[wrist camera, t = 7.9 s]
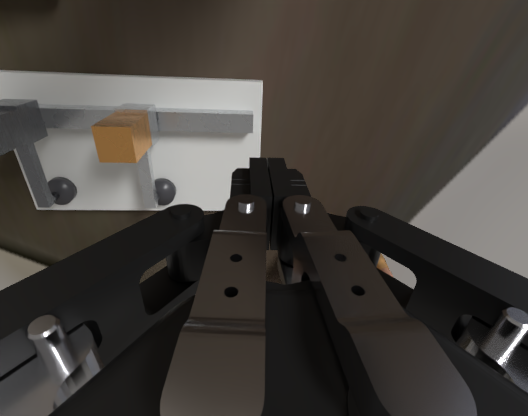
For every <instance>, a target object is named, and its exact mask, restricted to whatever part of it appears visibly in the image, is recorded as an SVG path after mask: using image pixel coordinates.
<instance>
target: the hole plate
mask: <svg viewBox="0 0 528 416" xmlns="http://www.w3.org/2000/svg"><path fill="white" fill-rule="evenodd" d="M262 91H263V81H262V80H243V79H218V78H192V77H167V76H141V75H115V74H90V73H64V72H39V71H13V70H0V100H2V99H28V100H37V102H38V104H59V105H91V106H120V105H122V104H124V103H134V104H155V108H187V109H220V110H252V111H253V133H223V132H183V131H158V132H159V140H158V142H157V143H156V144H155V145H154V146H153V147H150V154H151V161H152V167H153V174H154V180H155V187H156V193H158V194H159V195H160V198H159V200H158V205H157V207H156V208H145V205H144V199H143V193H142V188H141V182H140V177H139V171H138V165H137V163H102V162H99V158H98V154H97V150H96V146H95V142H94V138H93V133H92V129H64V128H46V130H47V133H48V136H47V137H45V138H43V139H41V140H39V141H37V142H35V143H34V145H35V148H36V151H37V154H38V157H39V160H40V163H41V165H42V168H43V171H44V174H45V177H46V180H47V183H48V186H49V188H50V191H51V192H57V193H58V194H59V195H60V198H59V199H58V200H57V201H56V202H54V204H53V205H52V206H51V207H50V208H41V207H38V205H37V203H36V200H35V197H34V195H33V192H32V190H31V187H30V184H29V182H28V179H27V177H26V174H25V171H24V169H23V166H22V164H21V161H20V158H19V156H18V153H17V150H16V148H15V149H14V152H15V155H16V157H17V160H18V162H19V165H20V167H21V170H22V173H23V175H24V178H25V180H26V183H27V186H28V188H29V191H30V193H31V196H32V198H33V201H34V204H35V206H36V209H37V210H164V209H166V208H168V207H170V206H173V205H178V204H191V205H195V206H198V207H200V208H201V209H202V210H203V211H222V210H224V209H225V205H226V202H227V200H228V199H230V190H231V178H232V172H234V171H235V170H236V169H237V168H249V157H256V158H260V144H261V117H262Z"/></svg>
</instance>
